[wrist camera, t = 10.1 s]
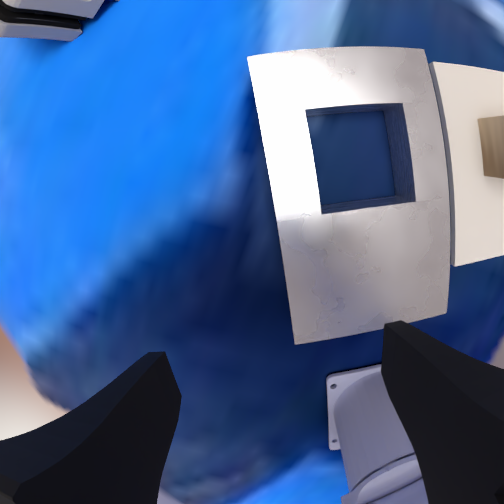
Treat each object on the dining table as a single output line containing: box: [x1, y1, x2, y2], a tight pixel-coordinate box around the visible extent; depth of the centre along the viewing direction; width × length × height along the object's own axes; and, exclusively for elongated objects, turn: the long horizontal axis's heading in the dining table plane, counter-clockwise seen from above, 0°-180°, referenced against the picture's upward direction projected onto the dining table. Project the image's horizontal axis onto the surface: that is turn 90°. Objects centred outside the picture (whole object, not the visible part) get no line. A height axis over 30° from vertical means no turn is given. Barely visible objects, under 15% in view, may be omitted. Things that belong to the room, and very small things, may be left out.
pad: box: [429, 62, 504, 266], centre depth 16 cm, size 14×10×1 cm
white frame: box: [247, 47, 450, 345], centre depth 17 cm, size 16×10×3 cm, turn 10°
